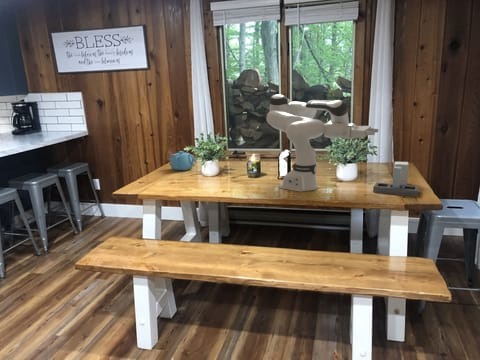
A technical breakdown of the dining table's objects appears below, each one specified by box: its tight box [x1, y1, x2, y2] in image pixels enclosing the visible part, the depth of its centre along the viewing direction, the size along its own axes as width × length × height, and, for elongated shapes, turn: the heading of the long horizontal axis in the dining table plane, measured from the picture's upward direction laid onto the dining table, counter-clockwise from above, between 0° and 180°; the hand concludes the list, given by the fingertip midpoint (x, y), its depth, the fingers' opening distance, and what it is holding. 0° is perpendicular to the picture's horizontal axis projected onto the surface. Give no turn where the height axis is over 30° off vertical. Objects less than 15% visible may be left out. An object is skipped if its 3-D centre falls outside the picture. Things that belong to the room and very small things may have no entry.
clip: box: [391, 167, 402, 188], centre depth 209 cm, size 4×4×13 cm
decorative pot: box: [168, 150, 196, 172], centre depth 280 cm, size 16×16×14 cm
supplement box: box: [393, 161, 409, 185], centre depth 222 cm, size 7×7×13 cm
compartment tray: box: [372, 182, 420, 198], centre depth 210 cm, size 22×10×3 cm, turn 61°
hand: (376, 131), depth 209 cm, fingers open, 8 cm apart
